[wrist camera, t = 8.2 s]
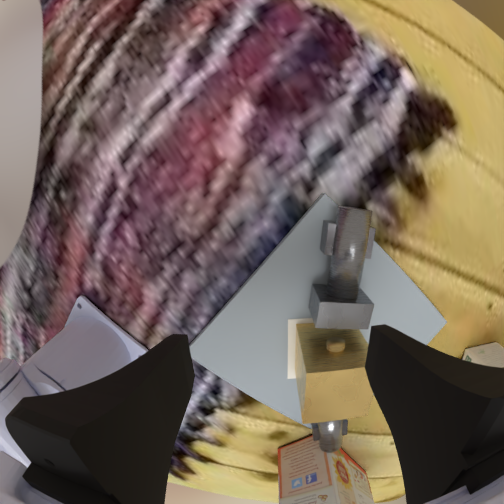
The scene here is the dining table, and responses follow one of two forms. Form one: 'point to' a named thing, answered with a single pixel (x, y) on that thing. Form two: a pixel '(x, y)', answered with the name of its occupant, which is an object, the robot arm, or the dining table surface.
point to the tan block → (331, 373)
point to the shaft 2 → (329, 434)
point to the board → (300, 313)
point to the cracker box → (320, 476)
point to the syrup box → (486, 355)
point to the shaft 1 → (344, 272)
